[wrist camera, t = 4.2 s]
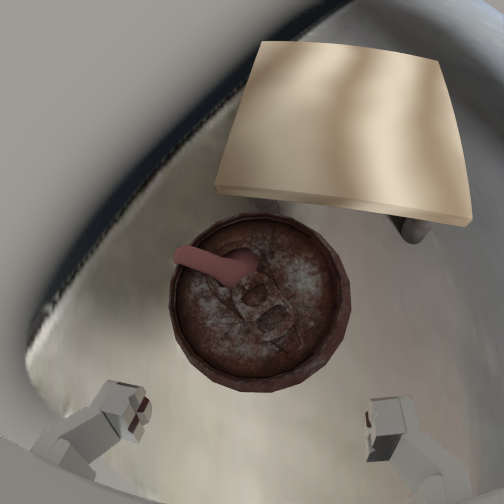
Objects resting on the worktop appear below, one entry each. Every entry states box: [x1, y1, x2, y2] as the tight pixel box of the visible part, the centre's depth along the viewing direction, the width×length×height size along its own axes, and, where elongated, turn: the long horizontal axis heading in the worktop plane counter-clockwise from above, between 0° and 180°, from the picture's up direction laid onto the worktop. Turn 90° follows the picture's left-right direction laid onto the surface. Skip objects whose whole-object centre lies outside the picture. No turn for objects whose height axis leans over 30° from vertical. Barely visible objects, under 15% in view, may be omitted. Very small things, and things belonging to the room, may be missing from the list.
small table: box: [214, 41, 473, 244], centre depth 23 cm, size 16×16×7 cm
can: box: [169, 212, 351, 393], centre depth 16 cm, size 6×6×14 cm
